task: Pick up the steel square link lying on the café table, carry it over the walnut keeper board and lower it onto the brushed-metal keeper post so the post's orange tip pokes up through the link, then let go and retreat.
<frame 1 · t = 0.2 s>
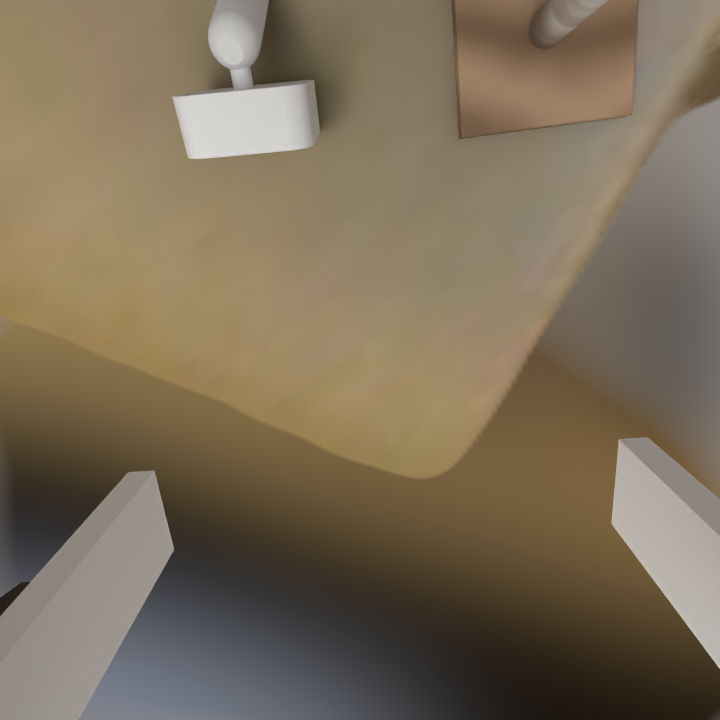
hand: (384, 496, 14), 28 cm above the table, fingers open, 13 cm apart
wall hook: (260, 75, 35), on the table
keeper: (540, 34, 34), on the table
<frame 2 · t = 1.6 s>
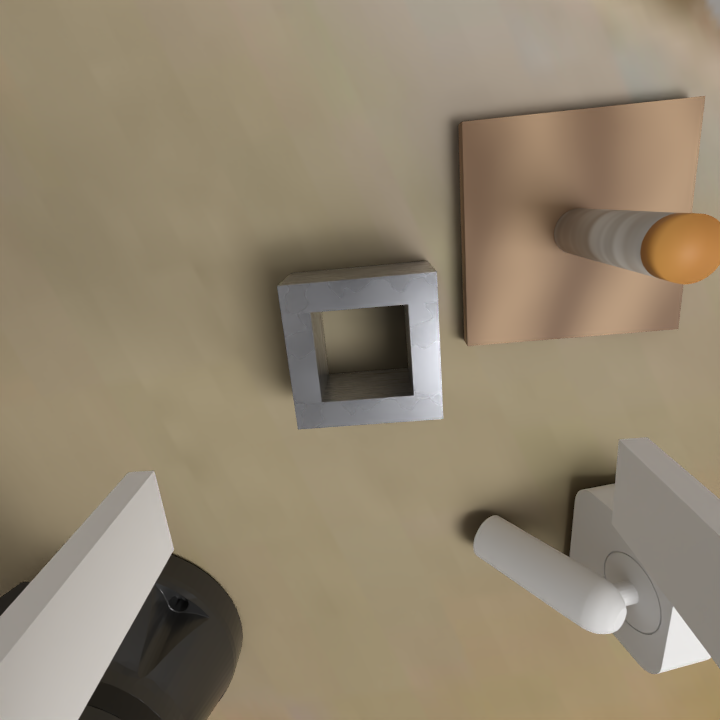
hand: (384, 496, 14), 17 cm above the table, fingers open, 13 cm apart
link: (364, 332, 30), on the table
wall hook: (554, 523, 34), on the table
keeper: (568, 230, 27), on the table
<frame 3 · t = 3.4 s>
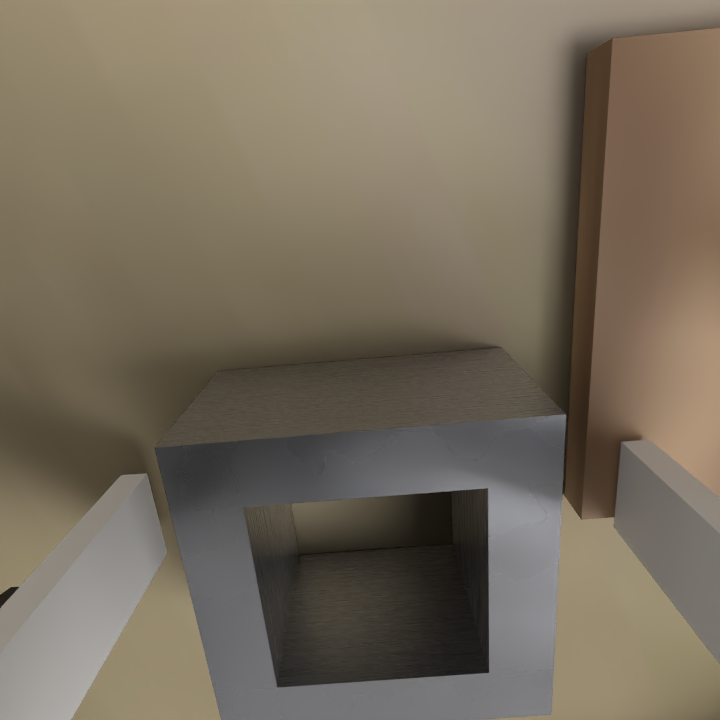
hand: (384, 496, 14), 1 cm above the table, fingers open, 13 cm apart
link: (369, 482, 15), on the table
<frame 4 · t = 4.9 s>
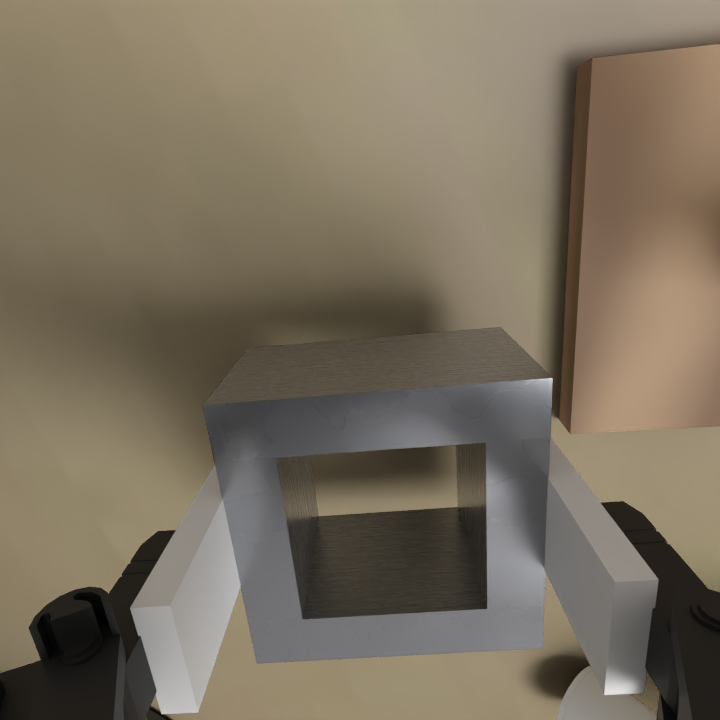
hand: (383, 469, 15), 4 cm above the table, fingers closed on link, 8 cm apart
link: (382, 449, 17), point 3 cm above the table, touching gripper
wall hook: (672, 674, 23), on the table
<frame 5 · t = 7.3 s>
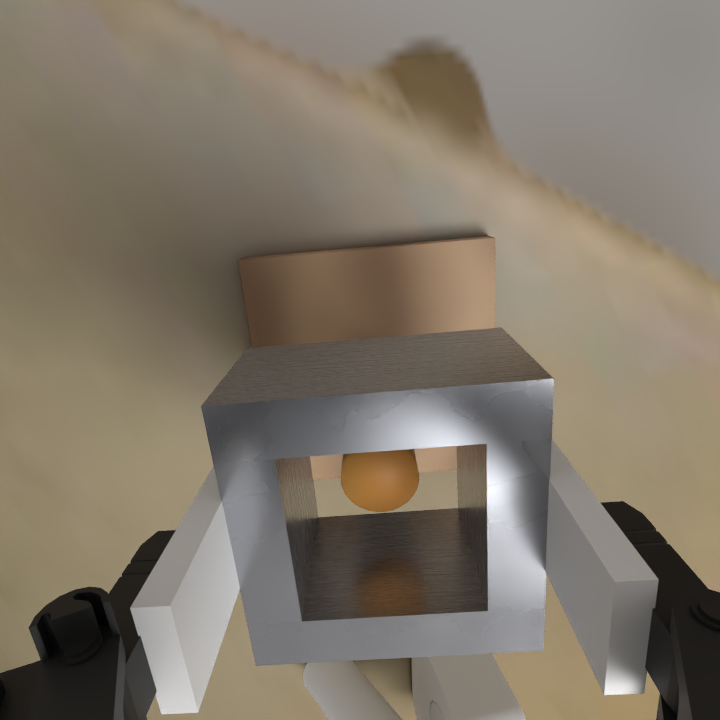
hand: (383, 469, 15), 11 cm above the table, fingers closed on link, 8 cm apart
link: (382, 450, 16), point 9 cm above the table, touching gripper
wall hook: (398, 648, 32), on the table
keeper: (374, 363, 26), on the table
when the fingers open (3 cm above the table, at t = 9.4 s): link stays where it is, resting on keeper.
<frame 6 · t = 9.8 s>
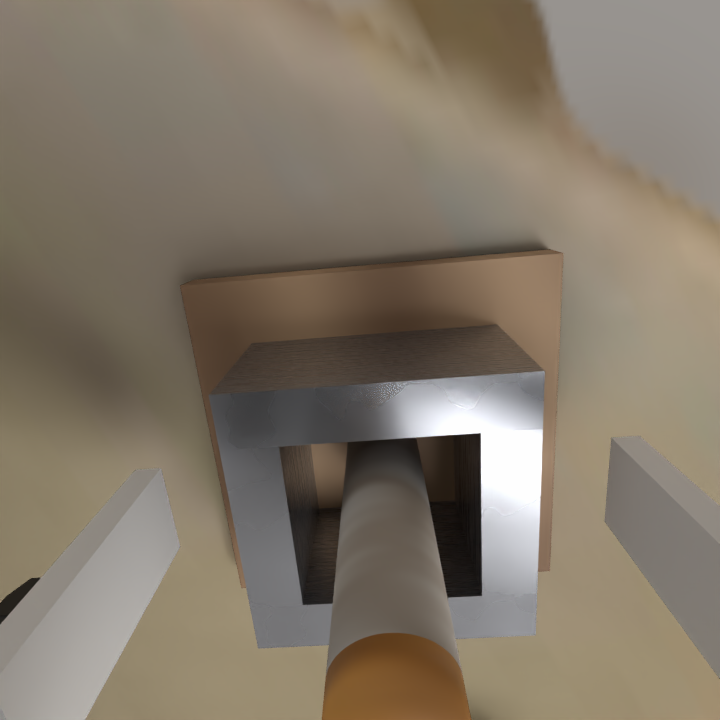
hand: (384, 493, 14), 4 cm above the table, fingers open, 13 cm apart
link: (381, 443, 17), point 1 cm above the table, touching keeper
keeper: (381, 426, 18), on the table
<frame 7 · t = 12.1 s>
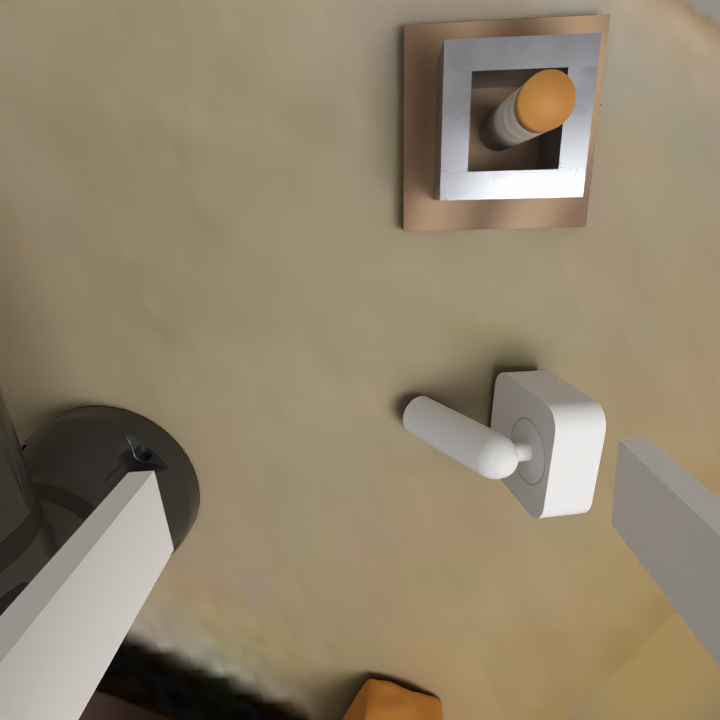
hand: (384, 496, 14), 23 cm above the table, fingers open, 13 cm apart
coffee package: (382, 715, 50), on the table
link: (498, 132, 31), point 1 cm above the table, touching keeper
wall hook: (478, 410, 38), on the table
keeper: (495, 133, 32), on the table
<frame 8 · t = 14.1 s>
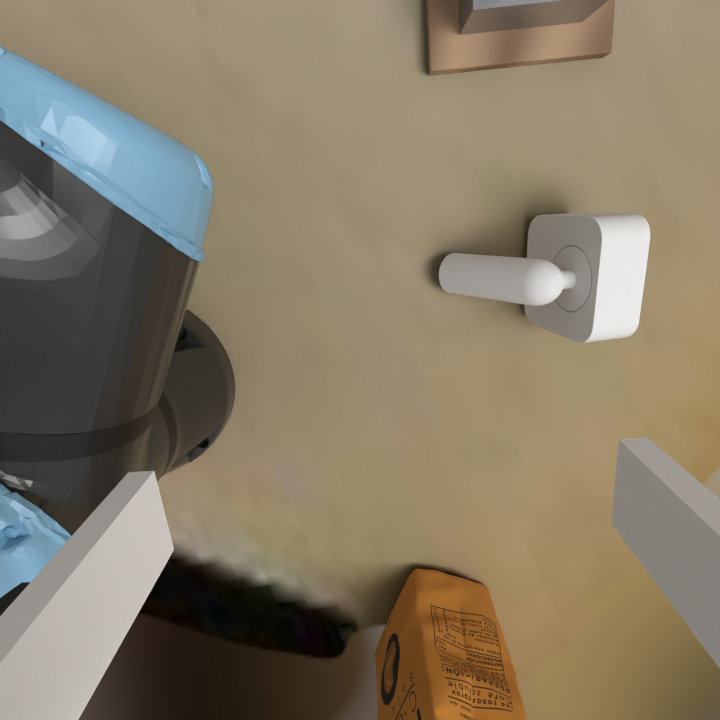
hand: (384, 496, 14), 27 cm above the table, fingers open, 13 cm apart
coffee package: (429, 611, 49), on the table
wall hook: (511, 268, 38), on the table
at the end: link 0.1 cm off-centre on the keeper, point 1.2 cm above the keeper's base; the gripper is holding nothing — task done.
